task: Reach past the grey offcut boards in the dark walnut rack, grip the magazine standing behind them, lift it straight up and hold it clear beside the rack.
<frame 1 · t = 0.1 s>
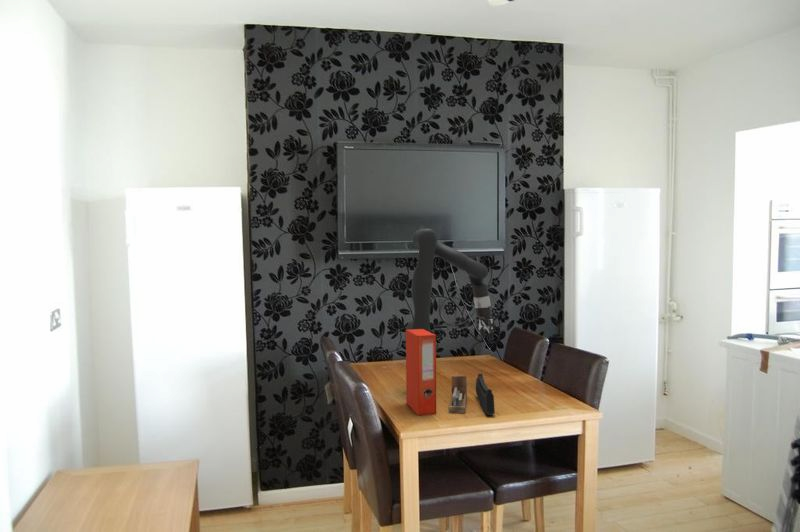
hand: (487, 338, 272), 22 cm above the table, tool pointing down, fingers open, 8 cm apart
file binder: (421, 409, 237), on the table
rack: (458, 405, 240), on the table
offcut stack: (458, 405, 240), resting in rack
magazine: (484, 406, 239), on the table
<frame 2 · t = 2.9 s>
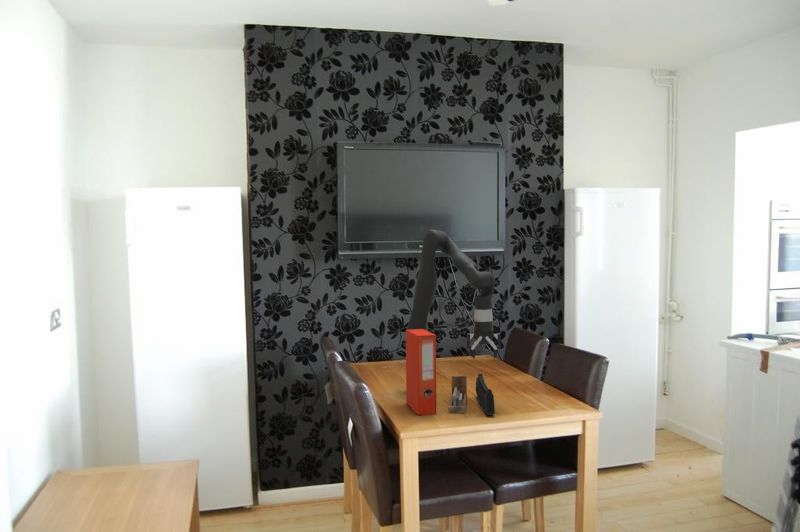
hand: (484, 358, 238), 20 cm above the table, tool pointing down, fingers open, 8 cm apart
nothing on the table moved.
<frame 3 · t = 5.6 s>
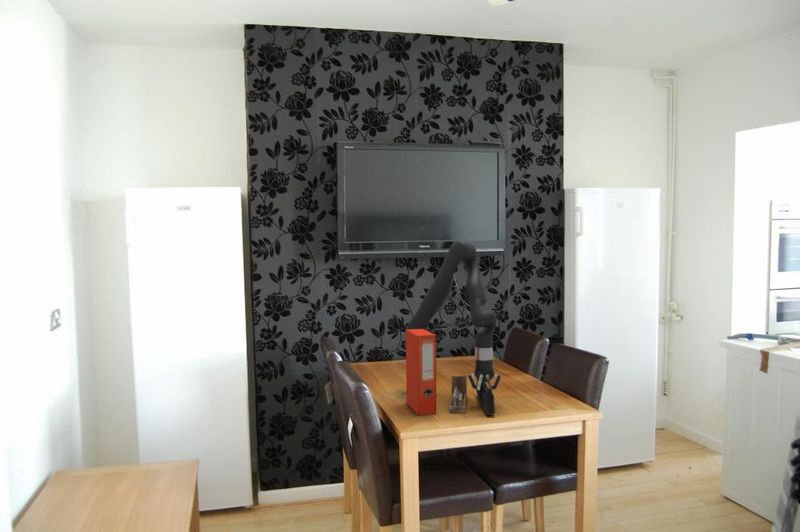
hand: (484, 398, 238), 3 cm above the table, tool pointing down, fingers closed on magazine, 3 cm apart
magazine: (484, 406, 238), on the table, touching gripper
everything else where it was.
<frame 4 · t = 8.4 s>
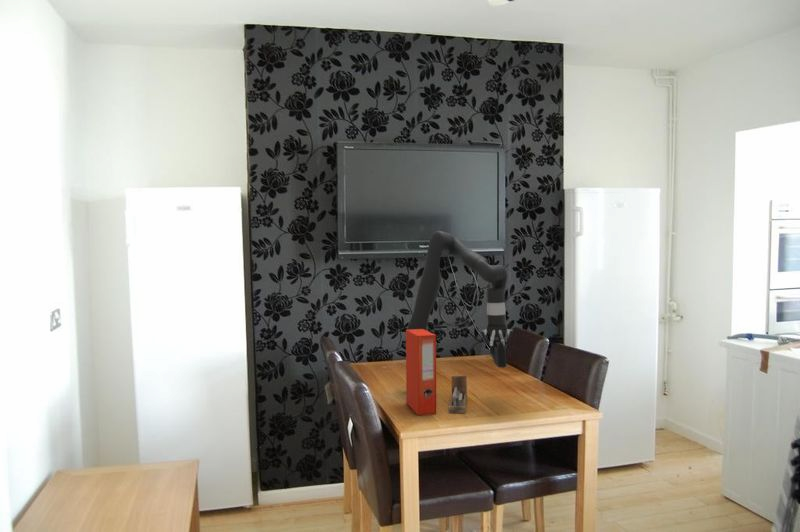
hand: (497, 354, 237), 22 cm above the table, tool pointing down, fingers closed on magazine, 3 cm apart
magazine: (497, 362, 237), point 18 cm above the table, touching gripper
everything else where it was.
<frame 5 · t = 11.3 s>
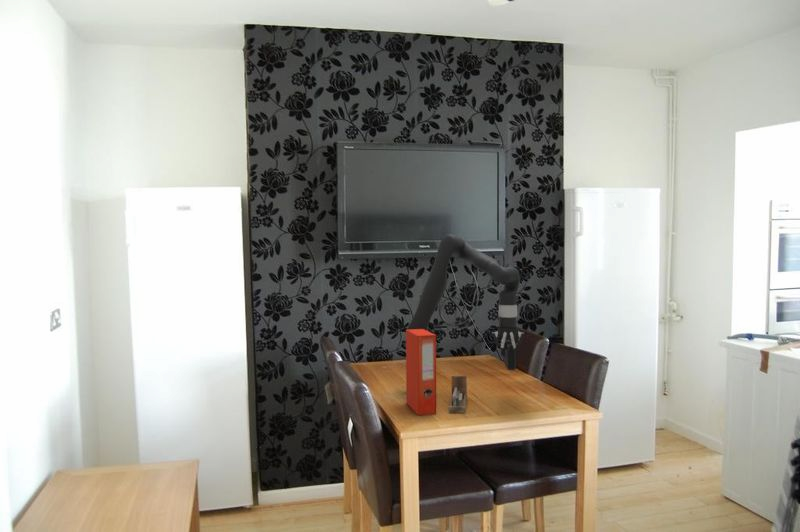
hand: (508, 356, 236), 21 cm above the table, tool pointing down, fingers closed on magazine, 3 cm apart
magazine: (508, 365, 236), point 18 cm above the table, touching gripper
everything else where it was.
at the end: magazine inside the target area (0.4 cm from its centre), point 17.5 cm above the table; the gripper is holding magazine; offcut stack moved 0.2 cm from its start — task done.
